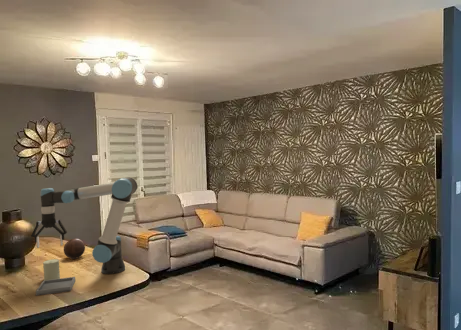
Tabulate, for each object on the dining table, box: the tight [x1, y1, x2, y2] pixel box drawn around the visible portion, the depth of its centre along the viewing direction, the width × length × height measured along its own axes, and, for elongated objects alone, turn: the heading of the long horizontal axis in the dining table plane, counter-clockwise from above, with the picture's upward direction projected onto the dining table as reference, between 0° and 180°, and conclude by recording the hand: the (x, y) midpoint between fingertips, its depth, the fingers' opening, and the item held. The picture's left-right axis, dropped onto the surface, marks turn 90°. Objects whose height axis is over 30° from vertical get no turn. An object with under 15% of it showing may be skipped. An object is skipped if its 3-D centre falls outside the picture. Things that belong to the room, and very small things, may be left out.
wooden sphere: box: [63, 238, 86, 260], centre depth 273 cm, size 15×15×15 cm
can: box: [42, 258, 61, 281], centre depth 227 cm, size 9×9×12 cm
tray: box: [35, 276, 76, 297], centre depth 212 cm, size 18×18×2 cm
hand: (50, 246), depth 227 cm, fingers open, 13 cm apart
